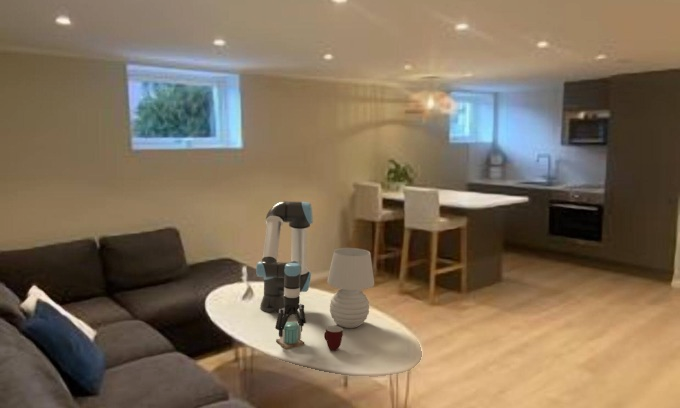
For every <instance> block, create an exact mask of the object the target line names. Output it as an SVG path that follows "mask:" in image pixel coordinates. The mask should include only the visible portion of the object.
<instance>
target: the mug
mask: <svg viewBox="0 0 680 408" xmlns="http://www.w3.org/2000/svg"><path fill="white" fill-rule="evenodd" d="M343 333H344V329H343V327H341V326H339V325H337V326H336V325H331V326H327V327H326V328H325V332H324V334H323V335H324V336H323V337H324V340H325V341H326V344H327V348H328V349H329V351H332V352H333V351H339V348H340V346H341V344H342V339H343V335H344V334H343Z"/></svg>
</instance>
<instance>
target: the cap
mask: <svg viewBox="0 0 680 408" xmlns="http://www.w3.org/2000/svg"><path fill="white" fill-rule="evenodd" d="M298 325H299V324H298V322H297V323H296V322H286V324H285V327H284V329H283V330H285V335H284V343H287V344H288V343H289V344H293V343H296V342H298Z"/></svg>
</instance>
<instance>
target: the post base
mask: <svg viewBox="0 0 680 408" xmlns="http://www.w3.org/2000/svg"><path fill="white" fill-rule="evenodd" d="M275 342H276V343H277V344H279V345H280V346H281V347H283V348H284V349H285V350H287V349H293V348H296V347H301V346H304V345H305V341H303V340H301V339H298V342H296V343H293V344H289V343H288V344H287V343H284V344H282V343H280V338H276V339H275Z"/></svg>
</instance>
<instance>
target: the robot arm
mask: <svg viewBox="0 0 680 408" xmlns="http://www.w3.org/2000/svg"><path fill="white" fill-rule="evenodd" d="M313 219H314V217H313V206H312V204H311V203H310V202H309V201H307V202H306V201H287V200H283V201H278V202H276V203H275V204H273V206H271V208H270V209H269V210H268V212H267V214H266V216H265V224H266V229H265V236H264V242H263V243H264V244H263V250H262V256H261V257H262V258H261V261H257V262H256V265H255V275H256V276H257V277H259V278H260V277H261V278H263V295H262V299H261V302H260V305H259V306H260V308H259V309H260V310H261V311H263V312H266V313H277V319H276V323H275V327H274V328H275V330H276V331H278V337H279V339H280V343H282V344H284V335H285V330H283V329H284V327H285V324H286V323H288V320H289V318H290V317H291V316H292V315H294V317H295V319H296V322H297V324H298V339H300V340H301V339H302V332H303V327H304V326H305V324H307V320H306V314H305V305H304V304H302V303H300V301H301V300H300V296H301V293H305V292H308V291H309V288H310V284H311V278H312V277H311V276H312V272H311V271H310V269H309V268H308V267H307V253H308V252H307V251H308V249H307V248H308V247H307V244H308V229H309V228H310V227H311V224H313V222H314V220H313ZM284 223H288V226H289V228H291V243H290V244H291V246H290V247H291V249H290V251H291V252H290V253H291V254H290V258H291V260H290V262H278V254H279V248H280V247H279V246H280V239H281V237H280V236H281V231H282V229H281V228H282V226H283V225H284Z"/></svg>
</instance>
